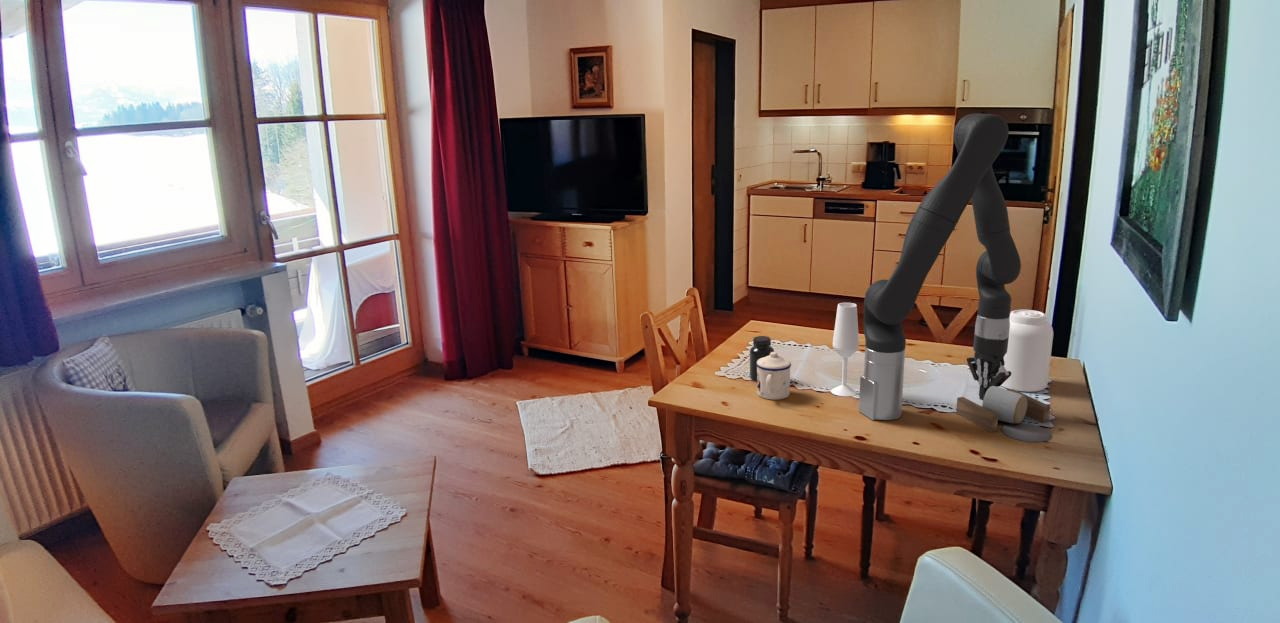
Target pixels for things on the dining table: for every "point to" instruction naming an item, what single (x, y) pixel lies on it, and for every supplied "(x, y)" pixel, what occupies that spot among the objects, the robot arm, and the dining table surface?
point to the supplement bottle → (759, 353)
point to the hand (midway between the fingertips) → (985, 399)
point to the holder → (990, 419)
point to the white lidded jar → (1028, 351)
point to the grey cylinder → (1005, 404)
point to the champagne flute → (845, 342)
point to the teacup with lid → (773, 377)
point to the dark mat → (1026, 432)
